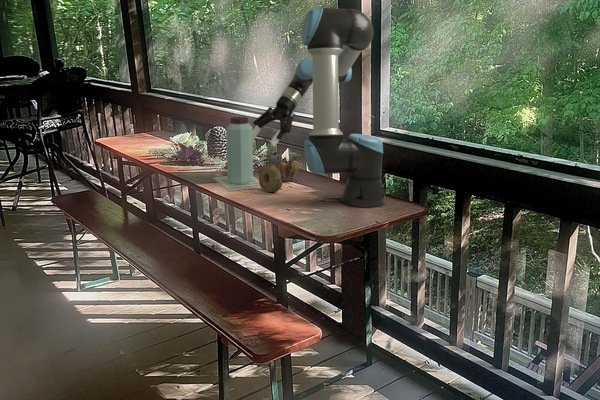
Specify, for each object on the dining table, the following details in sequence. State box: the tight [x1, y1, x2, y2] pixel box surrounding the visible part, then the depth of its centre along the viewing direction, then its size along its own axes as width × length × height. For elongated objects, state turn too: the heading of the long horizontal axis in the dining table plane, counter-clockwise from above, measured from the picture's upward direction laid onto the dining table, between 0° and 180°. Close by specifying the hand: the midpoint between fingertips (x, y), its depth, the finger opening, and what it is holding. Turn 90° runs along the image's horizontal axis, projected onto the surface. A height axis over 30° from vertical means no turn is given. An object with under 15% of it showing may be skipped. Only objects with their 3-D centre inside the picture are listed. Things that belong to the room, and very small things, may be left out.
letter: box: [212, 175, 262, 192], centre depth 225 cm, size 22×16×1 cm
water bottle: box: [225, 116, 254, 185], centre depth 221 cm, size 10×10×25 cm
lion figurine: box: [278, 160, 302, 184], centre depth 228 cm, size 15×5×9 cm, turn 37°
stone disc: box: [258, 164, 283, 193], centre depth 211 cm, size 10×4×10 cm, turn 46°
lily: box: [175, 142, 204, 166], centre depth 255 cm, size 12×12×10 cm
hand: (260, 142), depth 228 cm, fingers open, 13 cm apart
